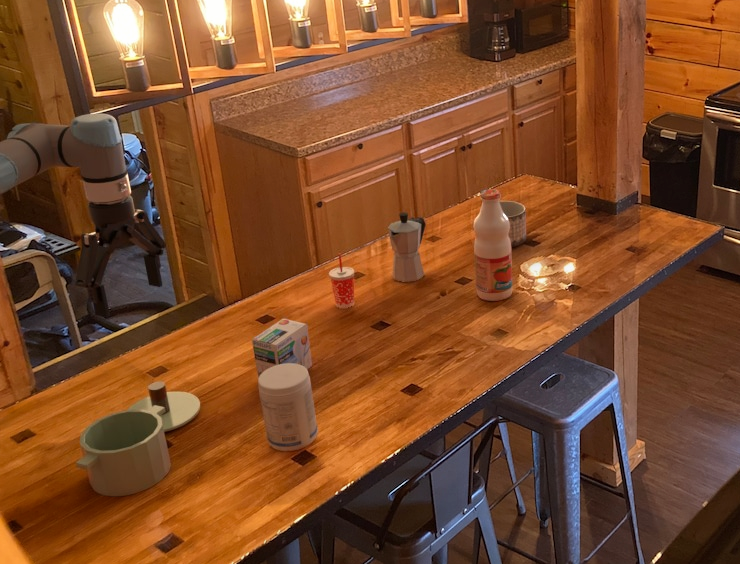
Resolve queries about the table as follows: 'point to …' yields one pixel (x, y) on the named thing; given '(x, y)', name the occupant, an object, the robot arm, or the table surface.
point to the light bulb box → (282, 345)
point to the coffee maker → (407, 247)
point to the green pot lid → (170, 405)
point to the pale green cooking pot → (125, 452)
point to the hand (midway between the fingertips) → (130, 300)
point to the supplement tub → (288, 406)
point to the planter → (515, 221)
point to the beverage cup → (343, 285)
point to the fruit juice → (492, 249)
